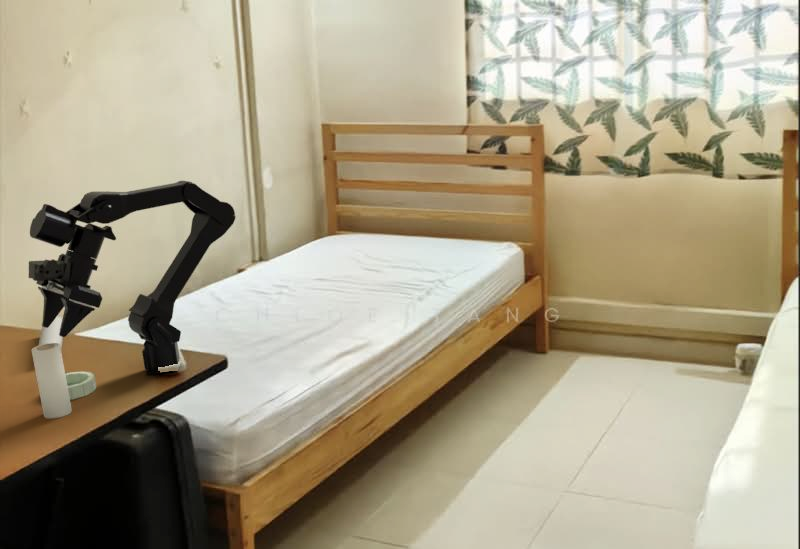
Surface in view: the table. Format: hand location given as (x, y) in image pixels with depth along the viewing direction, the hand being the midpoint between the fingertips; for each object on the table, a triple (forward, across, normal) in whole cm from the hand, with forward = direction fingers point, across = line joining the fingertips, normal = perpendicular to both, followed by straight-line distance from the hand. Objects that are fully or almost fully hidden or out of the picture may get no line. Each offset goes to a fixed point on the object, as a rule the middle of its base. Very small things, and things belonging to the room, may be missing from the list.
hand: (53, 331), depth 188 cm
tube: (+8, -34, +16) cm, 38 cm away
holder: (+11, -3, +9) cm, 14 cm away
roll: (+14, +6, +4) cm, 16 cm away
